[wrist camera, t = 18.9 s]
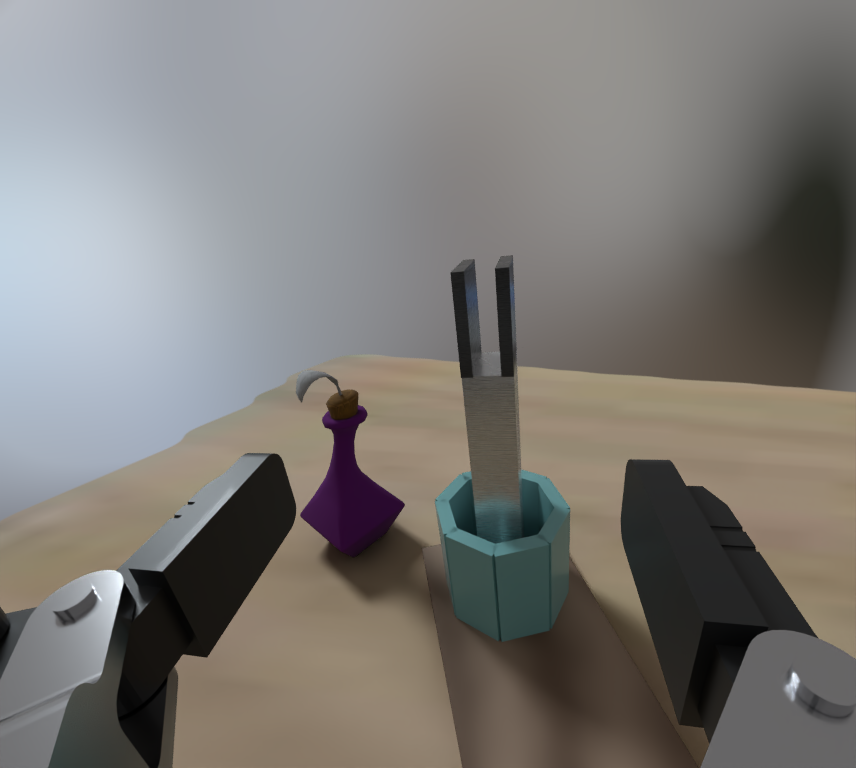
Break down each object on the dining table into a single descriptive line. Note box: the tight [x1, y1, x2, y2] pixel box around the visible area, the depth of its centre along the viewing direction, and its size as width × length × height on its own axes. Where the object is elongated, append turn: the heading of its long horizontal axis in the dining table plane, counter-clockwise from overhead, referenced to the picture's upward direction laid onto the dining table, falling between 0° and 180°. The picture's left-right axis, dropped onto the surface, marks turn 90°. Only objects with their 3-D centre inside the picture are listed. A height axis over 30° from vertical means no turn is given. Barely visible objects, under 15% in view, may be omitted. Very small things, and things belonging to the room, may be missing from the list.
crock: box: [435, 470, 570, 642], centre depth 31 cm, size 9×9×8 cm
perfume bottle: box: [296, 370, 405, 557], centre depth 38 cm, size 8×8×18 cm
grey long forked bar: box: [451, 255, 524, 544], centre depth 28 cm, size 4×4×24 cm
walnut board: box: [422, 544, 698, 768], centre depth 26 cm, size 12×27×1 cm, turn 9°
